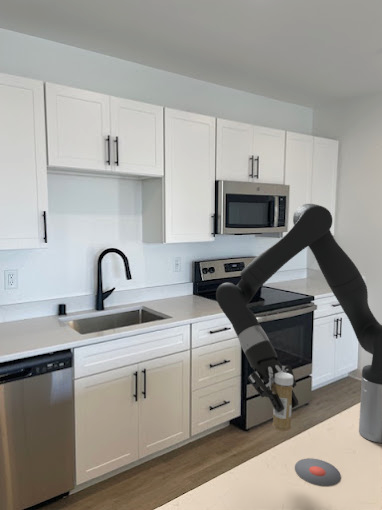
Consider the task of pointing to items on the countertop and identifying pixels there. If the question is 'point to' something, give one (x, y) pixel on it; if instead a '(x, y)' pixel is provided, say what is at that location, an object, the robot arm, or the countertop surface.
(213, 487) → the countertop surface
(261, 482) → the countertop surface
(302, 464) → the coaster
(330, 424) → the countertop surface
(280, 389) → the sprinkles bottle
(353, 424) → the countertop surface
